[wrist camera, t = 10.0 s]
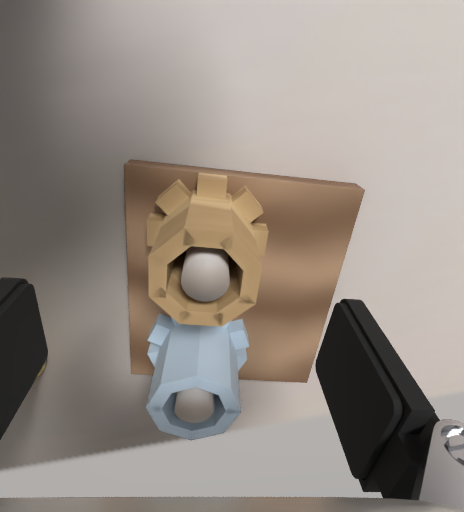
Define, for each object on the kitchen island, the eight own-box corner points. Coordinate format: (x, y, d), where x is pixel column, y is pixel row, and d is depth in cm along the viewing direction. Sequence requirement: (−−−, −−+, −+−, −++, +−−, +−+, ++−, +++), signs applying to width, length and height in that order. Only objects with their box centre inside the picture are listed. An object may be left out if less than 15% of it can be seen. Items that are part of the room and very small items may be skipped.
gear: (135, 313, 23) (109, 382, 17) (231, 288, 22) (236, 351, 17) (171, 382, 26) (159, 458, 20) (256, 361, 25) (267, 434, 20)
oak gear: (150, 167, 18) (122, 199, 13) (273, 180, 19) (295, 215, 13) (150, 275, 21) (128, 336, 16) (255, 283, 22) (268, 345, 17)
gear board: (130, 159, 19) (84, 195, 13) (355, 183, 21) (421, 227, 14) (135, 359, 26) (108, 450, 20) (302, 368, 28) (329, 456, 21)
